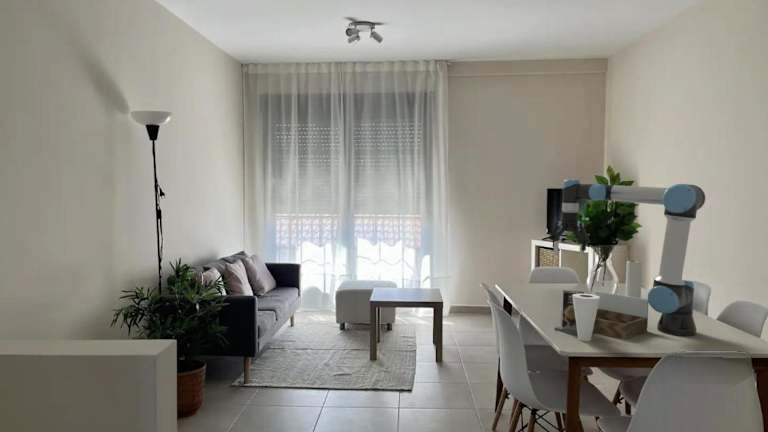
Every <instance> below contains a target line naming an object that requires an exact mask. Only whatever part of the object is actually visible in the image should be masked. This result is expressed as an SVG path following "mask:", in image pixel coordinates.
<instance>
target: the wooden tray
mask: <svg viewBox="0 0 768 432" xmlns="http://www.w3.org/2000/svg"><path fill="white" fill-rule="evenodd" d="M648 320H649V317H648V318H644V317H639V316H634V315H629V314H624V313H618V312H613V311H608V310H603V309H598V310H597V314H596V318H595V323H594V326H593V327H594V328H593V332H592V333H596V334H600V335H604V336H605V335H606V336H609V337H613V338H618V339H623V340H626V339H629V338H632V337H634V336H637V335H640V334H644V333H646V332H648V325H649V322H648Z"/></svg>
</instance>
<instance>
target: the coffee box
mask: <svg viewBox="0 0 768 432" xmlns="http://www.w3.org/2000/svg"><path fill="white" fill-rule="evenodd" d="M573 294H586V293H585V292H584V291H578V290H577V291H576V290H564V289H562V290H561V311H560V326H561V328H562V329H568V330H577V324H576V318H575V311H574V310H575V309H574V304H573V296H572V295H573Z"/></svg>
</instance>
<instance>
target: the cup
mask: <svg viewBox="0 0 768 432" xmlns="http://www.w3.org/2000/svg"><path fill="white" fill-rule="evenodd" d="M572 296H573V304H574V309H575V310H574V311H575V318H576V324H577V333H578V334H577V339H578V340H579V341H582V342H591V341H592V336H593V333H594V332H593V328H594V327H593V326H594V323H595V318H596V314H597V310H598V305H599V300H600V297H599V296H597V295H596V294H592V293H591V294H590V293H585V294H573V295H572Z"/></svg>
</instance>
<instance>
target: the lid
mask: <svg viewBox="0 0 768 432" xmlns="http://www.w3.org/2000/svg"><path fill="white" fill-rule="evenodd" d="M595 295H597V296H599V297H600V300H599V305H598V309H603V310H608V311H613V312H618V313H624V314H629V315H634V316H639V317H644V318H648V319H649V302H648V298H642V297H641V298H635V297H629V296H625V295H622V294H617V293H609V292H603V291H598V290H596V291H595Z"/></svg>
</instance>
